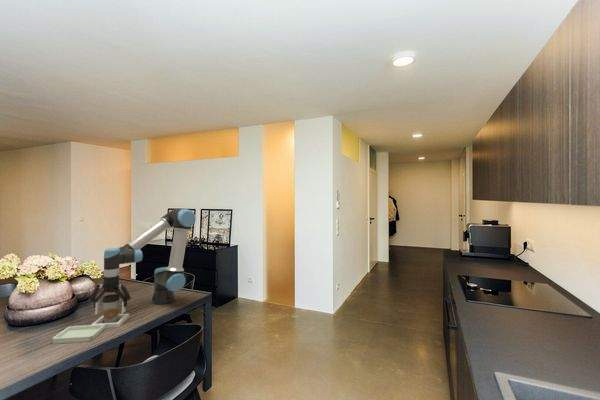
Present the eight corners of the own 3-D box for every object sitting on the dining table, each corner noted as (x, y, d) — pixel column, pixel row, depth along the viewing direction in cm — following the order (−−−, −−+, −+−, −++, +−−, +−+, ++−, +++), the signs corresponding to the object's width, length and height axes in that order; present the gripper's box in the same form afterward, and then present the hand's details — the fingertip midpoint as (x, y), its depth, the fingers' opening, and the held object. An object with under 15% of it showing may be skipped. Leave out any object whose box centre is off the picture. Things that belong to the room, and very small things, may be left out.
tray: (105, 328, 156) (105, 324, 156) (91, 341, 142) (91, 336, 142) (68, 330, 153) (68, 326, 153) (50, 343, 139) (50, 339, 139)
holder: (129, 316, 172) (129, 313, 172) (118, 327, 158) (118, 323, 158) (103, 318, 169) (103, 314, 169) (90, 328, 156) (90, 325, 156)
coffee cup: (100, 326, 158) (101, 299, 158) (103, 321, 165) (103, 295, 165) (118, 324, 162) (119, 297, 162) (120, 318, 169) (120, 293, 169)
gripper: (137, 273, 170) (136, 309, 169) (90, 274, 165) (89, 311, 165) (132, 276, 162) (131, 314, 162) (83, 278, 158) (82, 316, 158)
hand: (110, 313), depth 163 cm, fingers open, 13 cm apart
